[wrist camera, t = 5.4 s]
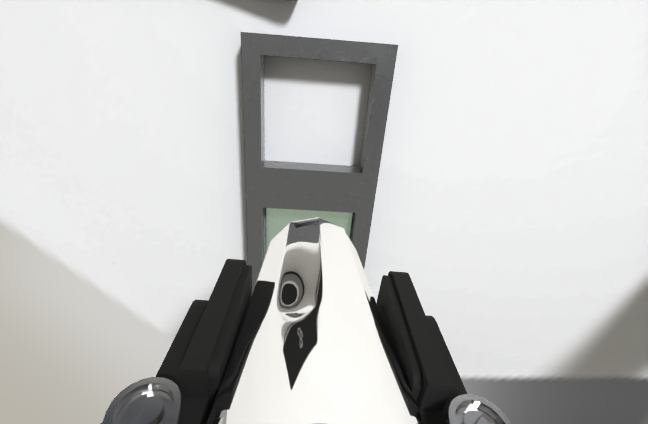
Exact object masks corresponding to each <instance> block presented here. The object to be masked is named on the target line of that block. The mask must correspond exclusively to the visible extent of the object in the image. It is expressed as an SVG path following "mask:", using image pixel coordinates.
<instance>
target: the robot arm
mask: <svg viewBox="0 0 648 424" xmlns="http://www.w3.org/2000/svg"><path fill="white" fill-rule="evenodd" d="M251 297H252V266H251V265H246V261H245V260H235V259H227V260H226V262H225V265H224V267H223V269H222V271H221V274H220V276H219V278H218V281H217V283H216V285H215V288H214V290H213V292H212V294H211V297H210V299H209V301H206V300H195V301H193V303H192V305H191V306H190V308H189V310H188V313H187V315H186V317H185V319H184V321H183V323H182V325H181V327H180V329H179V331H178V333H177V335H176V337H175V339H174V341H173V343H172V345H171V347H170V349H169V351H168V353H167V355H166V357H165V359H164V361H163V363H162V365H161V367H160V369H159V371H158V373H157V375H156V377H151V378H147V379H143V380H140V381H138V382H135V383H133V384H131V385H130V386H128V387H127V388H125V389H124V390H122V391H121V392H120V393H119V394H118V395H117V396H116V397H115V398H114V400H113V401H112V402H111V404H110V406H109V408H108V409H107V411H106V414H105V417H104V419H103V422H102V423H101V424H206V421H207V418H208V416H209V413H210V410H211V408H212V405H213V403H214V400H215V397H216V395H217V392H218V389H219V387H220V384H221V382H222V379H223V376H224V374H225V371H226V368H227V366H228V363H229V360H230V358H231V355H232V352H233V349H234V347H235V344H236V341H237V338H238V335H239V332H240V329H241V326H242V323H243V320H244V317H245V314H246V311H247V309H248V306H249V303H250V300H251ZM377 307H378V310H379V312H380V315H381V318H382V320H383V323H384V326H385V329H386V331H387V334H388V337H389V339H390V342H391V345H392V347H393V350H394V352H395V355H396V357H397V359H398V361H399V364H400V366H401V368H402V371H403V373H404V376H405V378H406V380H407V383H408V385H409V388H410V390H411V392H412V395H413V397H414V400H415V402H416V404H417V407H418V409H419V412H420V414H421V417H422V419H423V421H424V424H511V422H510V421H509V419H508V418H507V417H506V416H505V414H504V413H503V412H502V411H501V410H500V409H499V408H498V407H496V406H495V405H494V404H493V403H491V402H489V401H487V400H486V399H484V398H482V397H479V396H476V395H468V394H467V392H466V390H465V388H464V385H463V383H462V381H461V378H460V376H459V374H458V371H457V369H456V367H455V364H454V362H453V360H452V357H451V355H450V353H449V350H448V348H447V346H446V343H445V341H444V339H443V336H442V334H441V332H440V329H439V327H438V325H437V322H436V321H435V319H434V318H433V317H432V316H425V313H424V311H423V308H422V306H421V303H420V301H419V298H418V296H417V293H416V291H415V288H414V286H413V283H412V281H411V278H410V276H409V274H408V273H405V272H392V271H390V272H389V274H388V276H385V275H384V276H383V277H382V281H381V286H380V290H379V295H378V299H377Z"/></svg>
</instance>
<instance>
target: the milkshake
mask: <svg viewBox="0 0 648 424" xmlns="http://www.w3.org/2000/svg"><path fill="white" fill-rule="evenodd" d="M206 424H424V421H423V419H422V417H421V414H420V412H419V409H418V407H417V404H416V402H415V400H414V397H413V395H412V392H411V390H410V388H409V385H408V383H407V380H406V378H405V376H404V373H403V371H402V368H401V366H400V364H399V361H398V359H397V357H396V355H395V352H394V350H393V347H392V345H391V342H390V339H389V337H388V334H387V331H386V329H385V326H384V323H383V320H382V318H381V315H380V312H379V310H378V307H377V304H376V302H375V299H374V296H373V293H372V291H371V288H370V285H369V283H368V280H367V277H366V275H365V272H364V269H363V266H362V264H361V261H360V258H359V256H358V253H357V251H356V249H355V247H354V245H353V243H352V242H351V240H350V238H349V236H348V235H347V233H346V231H345V229H344V228H343V227H340V226H338V225H335V224H333V223H331V222H328V221H326V220H324V219H321V218H319V217H316V218H311V219H305V220H299V221H292V222H290V223H289V224H288V225H287V226H286V227H284V228H283V229H282V230H281V231H280V232H279V233H278V234H277V235H276V236H275V237H274V238H273V239H272V240H271V242H270V245H269V247H268V250H267V253H266V256H265V259H264V262H263V265H262V268H261V271H260V274H259V277H258V279H257V282H256V285H255V288H254V291H253V294H252V297H251V300H250V303H249V306H248V309H247V311H246V314H245V317H244V320H243V323H242V326H241V329H240V332H239V335H238V338H237V341H236V344H235V347H234V349H233V352H232V355H231V358H230V360H229V363H228V366H227V368H226V371H225V374H224V376H223V379H222V382H221V384H220V387H219V389H218V392H217V395H216V397H215V400H214V403H213V405H212V408H211V410H210V413H209V416H208V418H207V421H206Z"/></svg>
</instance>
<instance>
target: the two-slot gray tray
mask: <svg viewBox="0 0 648 424" xmlns="http://www.w3.org/2000/svg"><path fill="white" fill-rule="evenodd" d="M397 48H398V45H391V44H379V43H367V42H355V41H343V40H331V39H319V38H307V37H295V36H282V35H270V34H258V33H246V32H241V56H242V88H243V120H244V152H245V184H246V216H247V248H248V265H251V266H252V294H253V291H254V288H255V285H256V282H257V279H258V277H259V274H260V271H261V268H262V265H263V262H264V259H265V208H266V253H267V250H268V247H269V245H270V242H271V240H272V239H273V238H274V237H275V236H276V235H277V234H278V233H279V232H280V231H281V230H282V229H283V228H284V227H286V226H287V225H288V224H289V223H290V222H292V221H299V220H305V219H311V218H316V217H319V218H321V219H324V220H326V221H328V222H331V223H333V224H335V225H338V226H340V227H343V228H344V229H345V231H346V233H347V235H348V236H349V238H350V231H351V223H352V215H353V213H354V218H353V226H352V234H351V242H352V243H353V245H354V247H355V249H356V251H357V253H358V256H359V258H360V261H361V264H362V266H363V269H364V266H365V259H366V253H367V246H368V240H369V233H370V226H371V220H372V213H373V207H374V200H375V193H376V187H377V180H378V174H379V167H380V160H381V154H382V147H383V141H384V134H385V127H386V121H387V114H388V108H389V101H390V94H391V88H392V81H393V75H394V68H395V61H396V55H397ZM264 55H268V56H281V57H293V58H306V59H318V60H331V61H344V62H356V63H369V64H373V66H372V74H371V82H370V90H369V98H368V106H367V114H366V122H365V130H364V138H363V146H362V154H361V162H360V167H357V166H341V165H325V164H309V163H294V162H278V161H264Z"/></svg>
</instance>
